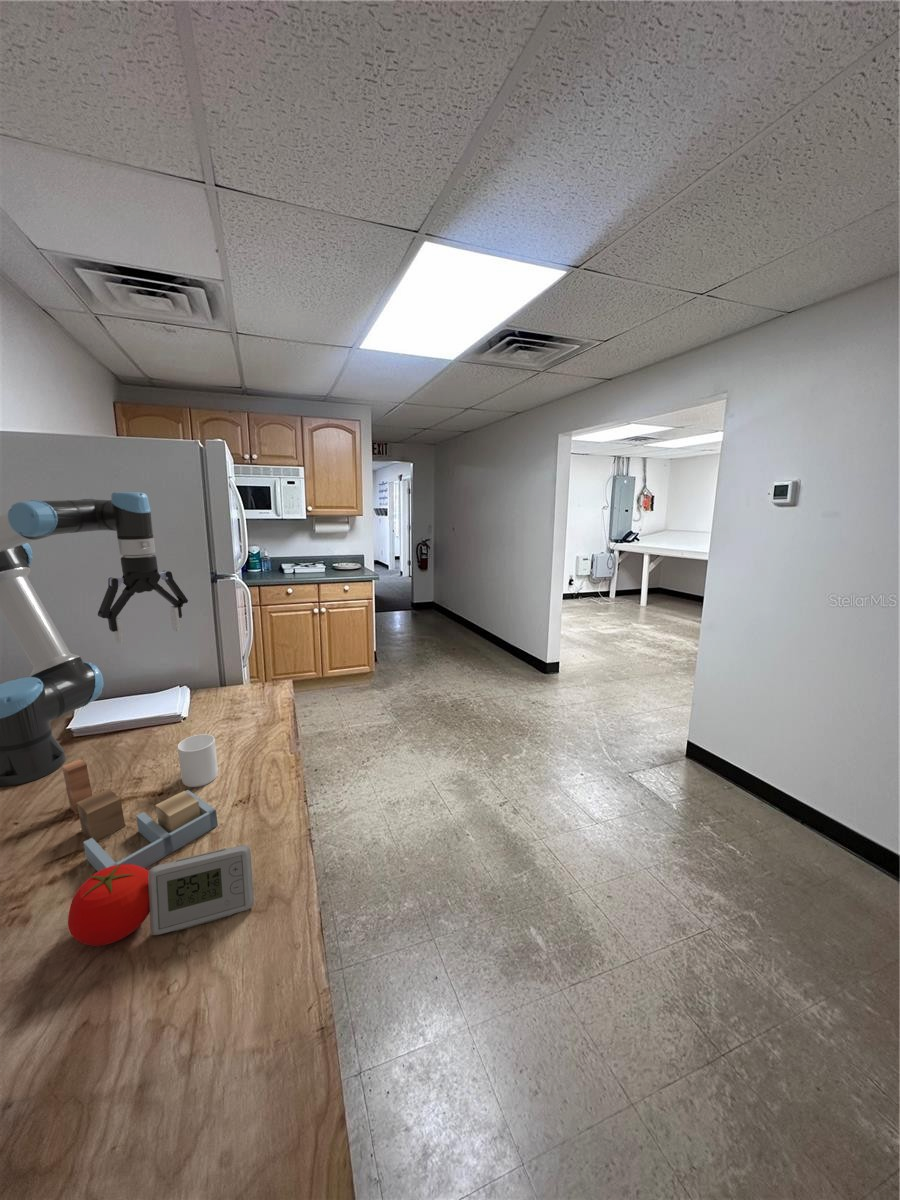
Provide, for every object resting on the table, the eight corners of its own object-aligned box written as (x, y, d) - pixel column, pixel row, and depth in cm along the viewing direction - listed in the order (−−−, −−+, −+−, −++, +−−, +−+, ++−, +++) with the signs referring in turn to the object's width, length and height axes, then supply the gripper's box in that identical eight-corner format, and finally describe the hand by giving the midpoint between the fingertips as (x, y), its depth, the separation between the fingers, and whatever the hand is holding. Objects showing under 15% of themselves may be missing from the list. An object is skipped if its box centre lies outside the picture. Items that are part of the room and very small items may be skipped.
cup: (182, 791, 115) (177, 754, 113) (181, 766, 125) (177, 732, 123) (219, 781, 119) (215, 746, 117) (216, 758, 129) (212, 725, 127)
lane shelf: (86, 858, 94) (83, 842, 93) (189, 804, 111) (187, 789, 110) (111, 887, 88) (108, 869, 87) (217, 825, 104) (216, 809, 103)
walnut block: (63, 811, 108) (55, 768, 105) (94, 797, 113) (86, 756, 110) (93, 842, 99) (84, 796, 96) (125, 826, 103) (117, 782, 101)
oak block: (159, 833, 102) (155, 804, 100) (187, 817, 106) (184, 790, 105) (173, 845, 98) (169, 816, 97) (201, 828, 103) (198, 800, 102)
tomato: (84, 912, 83) (74, 862, 80) (164, 890, 87) (157, 842, 85) (62, 971, 73) (50, 916, 70) (154, 943, 77) (145, 890, 75)
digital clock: (145, 941, 78) (136, 888, 75) (167, 895, 86) (160, 846, 84) (249, 927, 80) (244, 875, 78) (260, 884, 89) (256, 836, 87)
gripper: (84, 562, 105) (99, 652, 110) (196, 551, 125) (204, 627, 130) (72, 559, 109) (87, 645, 114) (181, 549, 129) (190, 623, 134)
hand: (149, 636), depth 122 cm, fingers open, 13 cm apart
